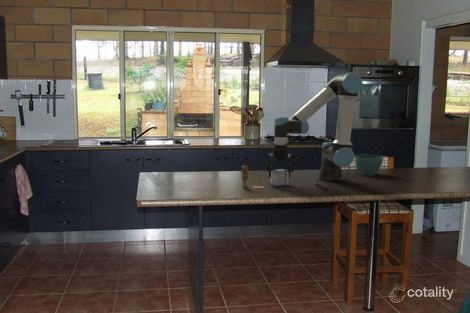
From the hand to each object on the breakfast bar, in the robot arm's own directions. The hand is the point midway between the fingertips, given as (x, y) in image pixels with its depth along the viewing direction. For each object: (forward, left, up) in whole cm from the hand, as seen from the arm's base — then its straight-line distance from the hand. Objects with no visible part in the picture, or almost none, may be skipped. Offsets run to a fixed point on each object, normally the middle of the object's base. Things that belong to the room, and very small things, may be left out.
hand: (279, 183), depth 291 cm
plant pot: (-61, -42, -1) cm, 74 cm away
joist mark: (+12, +10, -1) cm, 16 cm away
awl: (+20, +10, -1) cm, 22 cm away
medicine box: (0, 0, -1) cm, 1 cm away
